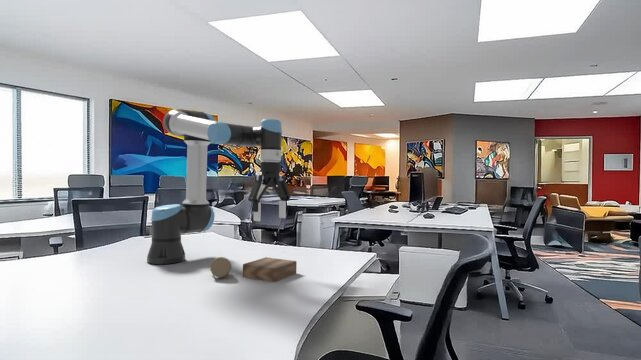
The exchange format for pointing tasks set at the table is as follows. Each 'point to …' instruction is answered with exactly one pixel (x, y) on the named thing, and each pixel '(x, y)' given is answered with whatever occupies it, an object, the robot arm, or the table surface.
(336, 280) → the table surface
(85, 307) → the table surface
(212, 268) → the brown round piece
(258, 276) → the riser block
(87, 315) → the table surface
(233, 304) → the table surface
